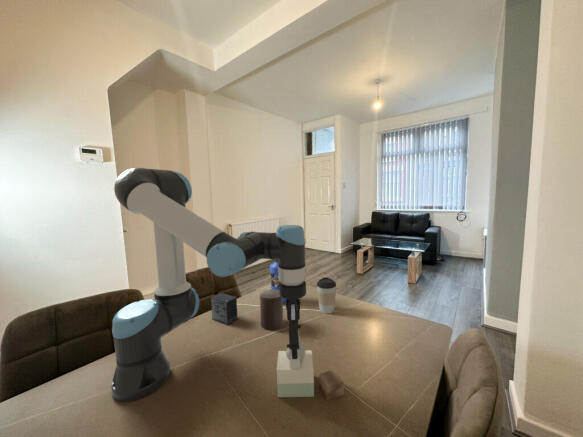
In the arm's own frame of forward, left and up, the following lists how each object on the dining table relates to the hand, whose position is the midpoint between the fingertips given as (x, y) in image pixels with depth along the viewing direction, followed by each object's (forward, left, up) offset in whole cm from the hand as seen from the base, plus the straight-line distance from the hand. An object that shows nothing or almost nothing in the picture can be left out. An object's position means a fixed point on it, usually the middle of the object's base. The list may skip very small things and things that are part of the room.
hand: (295, 358), depth 69 cm
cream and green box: (0, 0, -8) cm, 8 cm away
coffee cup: (+15, +45, -9) cm, 48 cm away
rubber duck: (0, 0, 0) cm, 0 cm away
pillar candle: (-10, +34, -9) cm, 36 cm away
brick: (+10, -2, -9) cm, 13 cm away
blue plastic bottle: (-8, +57, -9) cm, 58 cm away
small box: (-32, +39, -9) cm, 51 cm away
